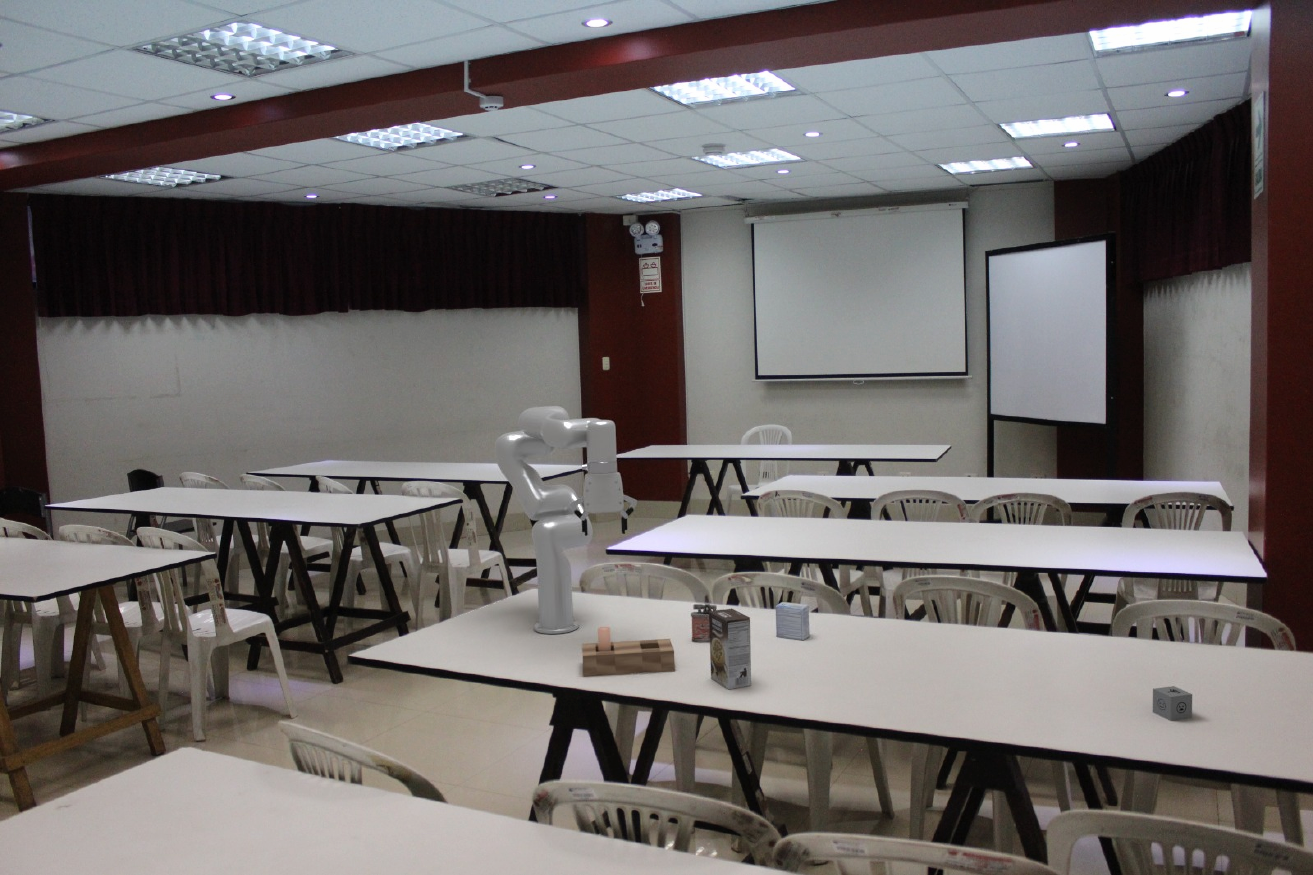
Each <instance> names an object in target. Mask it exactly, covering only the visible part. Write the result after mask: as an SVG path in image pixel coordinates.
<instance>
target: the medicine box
mask: <svg viewBox="0 0 1313 875" xmlns="http://www.w3.org/2000/svg"><path fill="white" fill-rule="evenodd" d="M809 608H810V607H809V604H804V603H803V604H801V603H795V602H786V601H783V602H780V603H778V604H777V605H775V628H776V629H775V631H776V632H775V633H776V634H775V635H776V637H777V638H784V639H791V640H797V641H798V640H799V641H804V640H806V639H807V638H808V637H810V635H811V634H810V632H811V631H810V614H809V613H810V609H809Z"/></svg>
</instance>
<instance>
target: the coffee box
mask: <svg viewBox="0 0 1313 875" xmlns="http://www.w3.org/2000/svg"><path fill="white" fill-rule="evenodd" d="M709 630H710V643H709V655H710V657H709V658H710V678H711V679H712V680H713V681H715V682H716V683H718V684H720V685H721V686H722V687H724V688H725V689H727V690H732V689H734V690H735V689H738V688H745V687H749V686H752V663H751V662H752V661H751V660H752V659H751V657H752V654H751V617H750V616H748V615H746V614H743V613H742V612H740V611H737V610H736V609H734V608H727V609H726V608H725V609H716V610H715V611H713V610H712V611H710V612H709Z"/></svg>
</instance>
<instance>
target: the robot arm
mask: <svg viewBox="0 0 1313 875" xmlns="http://www.w3.org/2000/svg"><path fill="white" fill-rule="evenodd" d="M517 422H518V427H519V430H518V431H517V430H516V431H511V432H510V431H509V432H506V433H504V434H502V435H500V436H499V437H498V438H496V440H495V443H494V457H495V461H496V464H497V466H498V468H499V471H501V474H502V475H503V476H504V477H505V479H506V480H507V482H509V484H510V485H511V486H512V490H513V491H514V493H515V495H516V497H517V499H518V502H519V504H520V505H521V507H522V509H523V512H524V513H525V514H526V516H527V517H528V519H530V520H531V521H536V522H535V523H534V524H533V526H532V529H531V539H532V543H533V547H534V553H535V561H536V573H537V576H536V577H537V580H536V581H537V597H538V598H537V600H538V601H537V602H538V618H539V619H538V622H536V623H534V625H533V630H534V631H535V632H536V633H540V634H547V635H553V634H555V635H556V634H557V635H558V634H566V633H570V632H573V631H575V630H577V629H578V628H579V627H580V623H579V621H578V620H577V619H574V610H573V609H574V608H573V606H574V605H573V604H574V603H573V585H572V583H573V581H572V566H571V563H570V561H569V559H568V558H567V556H566V555H565V553H564V552H563V551H565V550H569V549H575V548H579V547H584V546H587V545H588V544H589V543H590V542H591V541H592V539H593V535H594V530H593V525H592V522H591V520H590V517H589V515H590V514H612V513H613V514H614V513H619V514H620V515H621V518H620V519H621V520H620V523H621V534H623V535H625V534H626V531H628V518H629V517H630V516H631V515H632V513H634V510H635V508H636V506H637V504H638V500H637V499H635V498H633V497H630V496H629V495H627V494H624V492H623V491H624V489H623V487H624V486H623V481H622V476H621V473H620V472H618V463H617V458H618V457H617V436H616V424H615V422H614V421H613V420H609V419H600V418H598V417H586V418H571V417H570V415H569V413H568V411H567V410H566V408H563V407H561V406H560V405H548V406H533V407H529V408H527V409H525V410H523V411H522V412H521V413H520V415H519V418H518V421H517ZM577 448H578V449H579V448H586V457H587V460H586V461H587V462H586V463H585V464H582V465H581V466H582V467H581V469H582V471H583V470H585V471H586V472H587V473H586V474H585V475H584V481H583V495H581V496H580V497H578V494H577V493H576V491H575V490H574V489H573V488H572V487H570V486H569V485H566V484H553V485H549V484H545V483H544V481H543V479H542V477H541V475H540V474H539V472H538V471H537V470H536V469H535V468H534V467H532V466H531V465H530V464H528V463H526V462H525V460H535V459H544V458H548V457H550V456H551V455H552V454H553V453H555V451H556V449H561V450H569V449H577ZM625 501H626V503H629V504H630V506H629V507H628V508H627V510H625V509H624V506H625V505H624V504H625V503H624V502H625ZM582 503H583V505H582Z"/></svg>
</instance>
